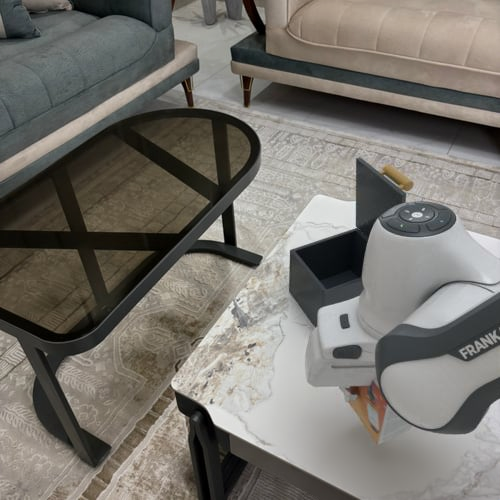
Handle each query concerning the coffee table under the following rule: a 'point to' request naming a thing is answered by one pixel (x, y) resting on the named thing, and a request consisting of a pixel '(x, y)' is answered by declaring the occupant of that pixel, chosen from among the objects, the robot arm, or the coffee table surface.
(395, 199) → the bin lid
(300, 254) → the bin
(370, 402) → the small box
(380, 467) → the coffee table surface
